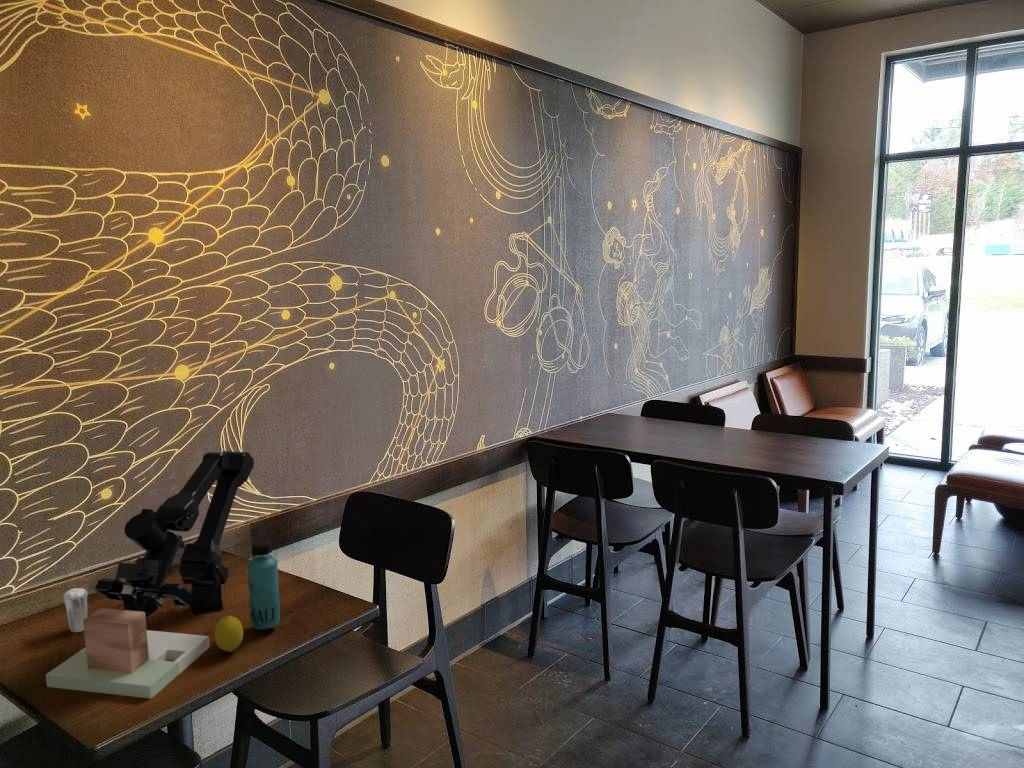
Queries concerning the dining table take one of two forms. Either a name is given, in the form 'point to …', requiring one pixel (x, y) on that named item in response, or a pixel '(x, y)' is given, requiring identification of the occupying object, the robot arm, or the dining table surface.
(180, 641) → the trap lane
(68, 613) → the milkshake
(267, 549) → the beverage bottle
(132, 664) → the terracotta block
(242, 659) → the dining table surface
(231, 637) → the lemon
